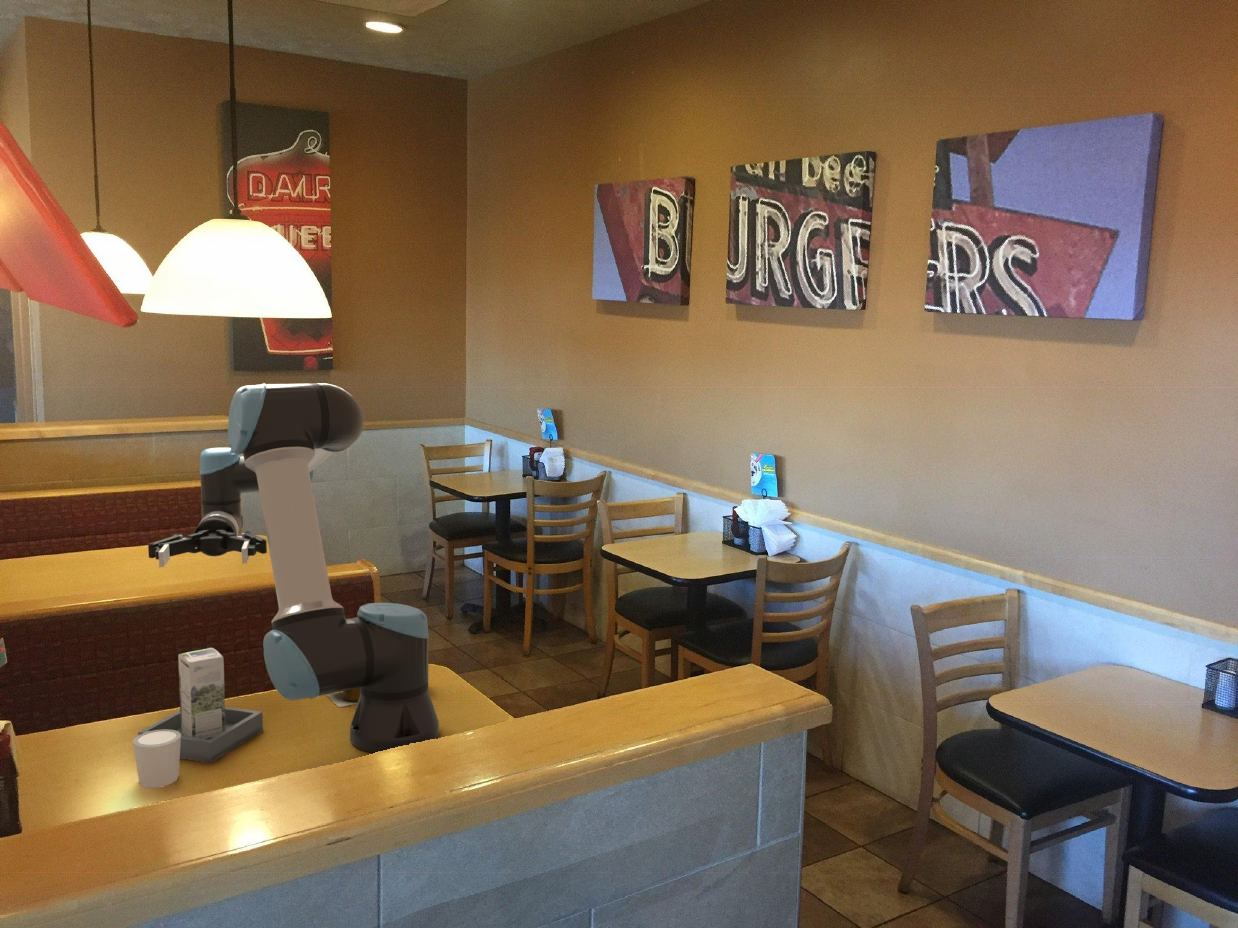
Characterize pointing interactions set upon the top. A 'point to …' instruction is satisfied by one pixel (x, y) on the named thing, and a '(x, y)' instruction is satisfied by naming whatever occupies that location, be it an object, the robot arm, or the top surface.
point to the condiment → (345, 697)
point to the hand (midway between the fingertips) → (203, 557)
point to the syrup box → (202, 693)
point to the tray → (236, 732)
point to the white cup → (157, 757)
